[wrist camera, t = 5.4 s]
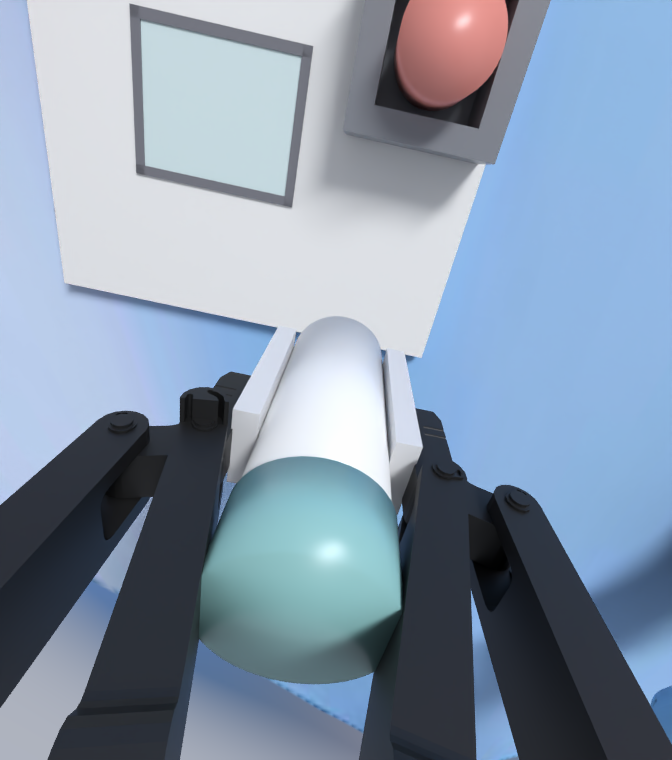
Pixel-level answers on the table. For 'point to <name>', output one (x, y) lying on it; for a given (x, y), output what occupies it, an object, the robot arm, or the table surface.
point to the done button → (448, 49)
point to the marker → (311, 523)
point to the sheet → (238, 166)
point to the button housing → (449, 126)
